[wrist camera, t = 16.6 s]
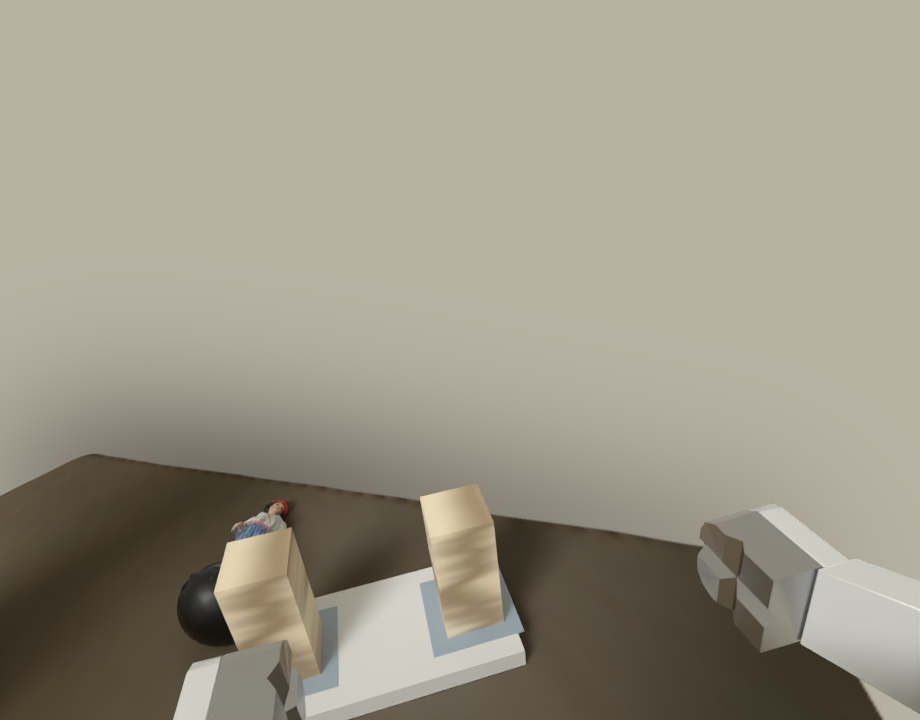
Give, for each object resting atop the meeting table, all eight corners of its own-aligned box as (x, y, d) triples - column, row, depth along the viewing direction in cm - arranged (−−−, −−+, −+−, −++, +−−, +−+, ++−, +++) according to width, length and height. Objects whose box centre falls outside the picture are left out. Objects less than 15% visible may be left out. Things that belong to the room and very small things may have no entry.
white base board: (238, 753, 34) (231, 739, 33) (258, 626, 43) (253, 613, 42) (532, 662, 37) (531, 648, 36) (493, 563, 46) (492, 550, 45)
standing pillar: (256, 693, 36) (213, 592, 32) (264, 638, 40) (227, 542, 36) (320, 674, 36) (286, 574, 32) (321, 622, 40) (291, 527, 36)
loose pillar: (447, 638, 38) (430, 538, 34) (436, 591, 42) (419, 497, 38) (504, 621, 39) (493, 521, 35) (487, 577, 43) (476, 483, 39)
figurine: (149, 587, 38) (258, 467, 55) (153, 654, 40) (257, 518, 57) (245, 604, 38) (325, 478, 55) (244, 670, 40) (321, 529, 57)
